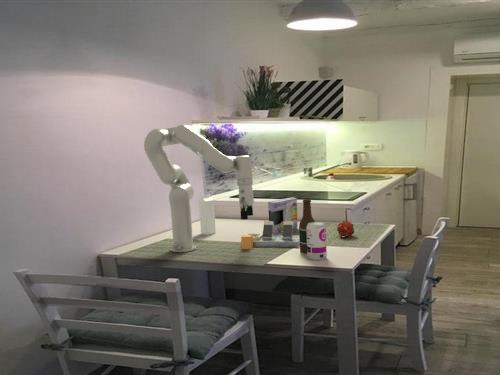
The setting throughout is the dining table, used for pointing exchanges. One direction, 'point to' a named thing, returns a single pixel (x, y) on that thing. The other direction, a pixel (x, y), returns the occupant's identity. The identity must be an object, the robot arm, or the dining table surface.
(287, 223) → the block
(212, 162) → the robot arm
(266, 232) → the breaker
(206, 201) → the milk
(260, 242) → the breaker panel
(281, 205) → the cake pan box
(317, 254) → the supplement can
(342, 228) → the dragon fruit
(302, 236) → the beer bottle
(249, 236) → the orange rectangular block
